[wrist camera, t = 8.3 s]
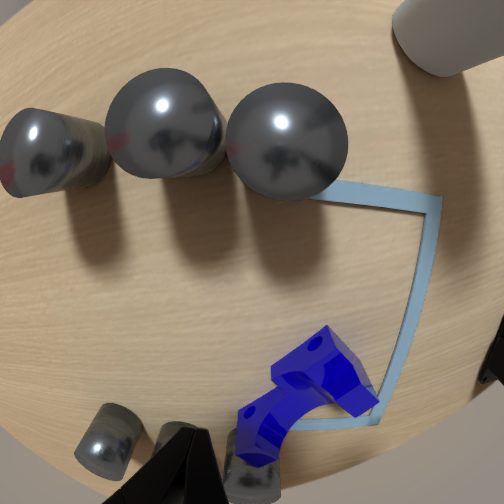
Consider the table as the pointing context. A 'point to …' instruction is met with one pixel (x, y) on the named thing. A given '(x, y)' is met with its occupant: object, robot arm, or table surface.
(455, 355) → the table surface
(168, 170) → the spacers
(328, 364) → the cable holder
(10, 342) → the table surface
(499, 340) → the robot arm
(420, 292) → the taped bay
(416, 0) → the beverage can
